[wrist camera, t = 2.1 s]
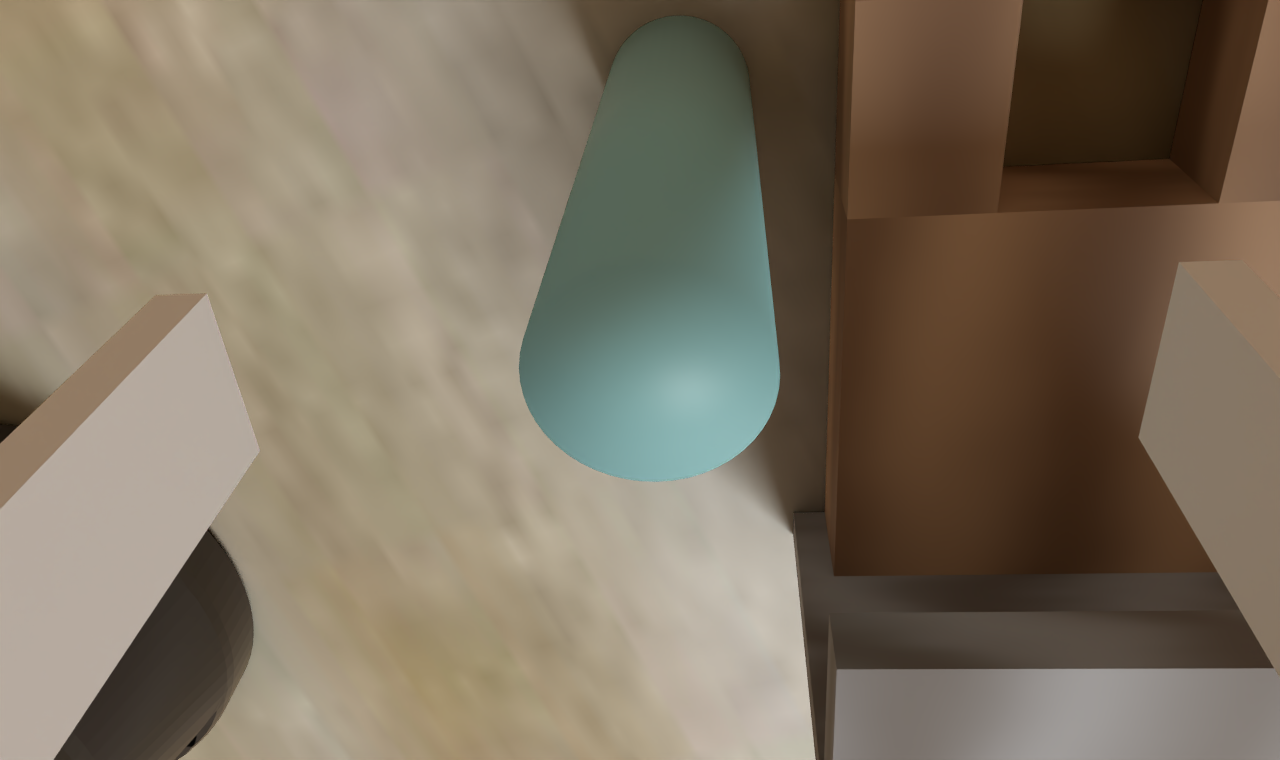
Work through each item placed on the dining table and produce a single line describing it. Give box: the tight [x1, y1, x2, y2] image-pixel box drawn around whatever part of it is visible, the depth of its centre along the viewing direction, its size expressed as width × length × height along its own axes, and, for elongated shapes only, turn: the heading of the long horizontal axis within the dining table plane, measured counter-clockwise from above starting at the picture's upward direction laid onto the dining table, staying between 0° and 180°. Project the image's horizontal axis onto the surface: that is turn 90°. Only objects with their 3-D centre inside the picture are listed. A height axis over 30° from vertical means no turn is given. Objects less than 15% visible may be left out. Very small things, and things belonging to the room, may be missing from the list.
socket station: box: [793, 0, 1280, 760], centre depth 22 cm, size 14×20×12 cm
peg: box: [519, 16, 780, 482], centre depth 20 cm, size 4×4×14 cm
